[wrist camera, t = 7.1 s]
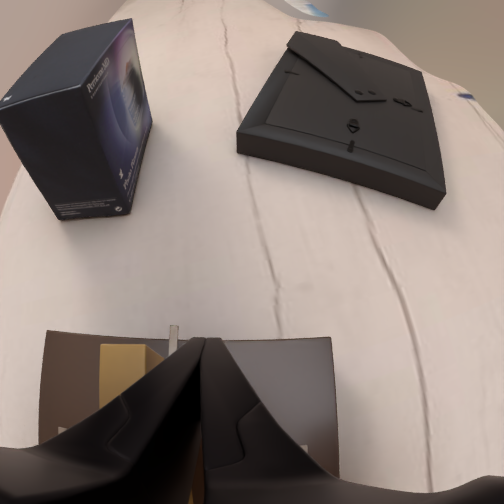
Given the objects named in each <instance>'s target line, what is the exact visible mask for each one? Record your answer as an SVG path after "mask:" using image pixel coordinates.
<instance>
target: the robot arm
mask: <svg viewBox="0 0 504 504" xmlns="http://www.w3.org/2000/svg"><path fill="white" fill-rule="evenodd" d="M201 438H202V452H203V469H204V502H203V504H504V477H501V476H490V475H488V476H483V477H480V478H477V479H475V480H472V481H470V482H468V483H466V484H464V485H461V486H459V487H456V488H453V489H451V490H447V491H442V492H435V493H412V492H404V491H397V490H390V489H384V488H378V487H372V486H367V485H361V484H356V483H352V482H347V481H344V480H341V479H339V478H337V477H335V476H334V475H332V474H331V473H329V472H328V471H326V470H325V469H324V468H323V467H322V466H321V465H320V464H319V463H317V462H316V461H315V460H314V459H313V458H312V457H311V456H310V455H309V454H308V453H307V452H306V451H305V450H304V449H303V448H302V447H301V446H300V445H298V444H297V443H296V442H295V441H294V440H293V439H292V438H291V437H290V436H289V435H288V433H287V432H286V431H285V430H284V429H283V428H282V427H281V426H280V425H279V424H278V423H277V421H276V420H275V419H274V417H273V416H272V415H271V413H270V412H269V411H268V409H267V408H266V406H265V405H264V403H263V402H262V401H261V399H260V398H259V396H258V395H257V393H256V392H255V390H254V389H253V387H252V386H251V384H250V383H249V381H248V380H247V378H246V377H245V375H244V374H243V372H242V370H241V369H240V367H239V366H238V364H237V363H236V361H235V360H234V358H233V356H232V355H231V353H230V352H229V350H228V348H227V347H226V345H225V344H224V342H223V340H222V339H221V338H204V337H193V338H191V339H189V340H188V341H187V342H186V343H184V344H183V345H182V346H181V347H179V348H178V349H177V350H176V351H174V352H173V353H172V354H171V355H169V356H168V357H167V358H166V359H164V360H163V361H162V362H161V363H159V364H158V365H157V366H155V367H154V368H153V369H152V370H150V371H149V372H148V373H147V374H145V375H144V376H143V377H141V378H140V379H139V380H138V381H136V382H135V383H134V384H132V385H131V386H130V387H129V388H127V389H126V390H125V391H123V392H122V393H121V394H120V395H118V396H117V397H115V398H114V399H113V400H111V401H110V402H109V403H107V404H106V405H105V406H103V407H102V408H100V409H99V410H98V411H96V412H95V413H93V414H91V415H90V416H88V417H87V418H85V419H83V420H82V421H80V422H79V423H77V424H75V425H73V426H72V427H70V428H68V429H66V430H65V431H63V432H61V433H59V434H58V435H56V436H54V437H52V438H51V439H49V440H47V441H45V442H43V443H41V444H39V445H37V446H34V447H29V448H21V449H16V448H6V447H0V504H188V503H189V498H190V493H191V488H192V483H193V478H194V473H195V468H196V463H197V458H198V453H199V448H200V443H201Z"/></svg>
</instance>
